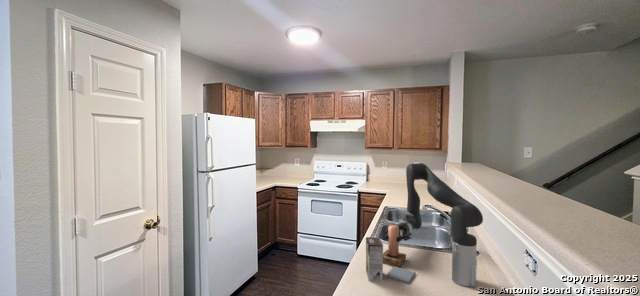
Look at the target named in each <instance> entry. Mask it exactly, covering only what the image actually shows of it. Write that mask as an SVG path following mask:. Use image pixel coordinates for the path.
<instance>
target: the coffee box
mask: <svg viewBox="0 0 640 296" xmlns="http://www.w3.org/2000/svg"><path fill="white" fill-rule="evenodd" d="M383 253H384V245H383V243H382V240H381V238H380V237H370V236H367V237H365V272H366V276H367V279H368V282H369V281H371V282H373V281H374V282H375V281H377V282H382V281H383V278H384V277H383V266H384V265H383V264H384V263H383Z"/></svg>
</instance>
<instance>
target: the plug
mask: <svg viewBox="0 0 640 296" xmlns="http://www.w3.org/2000/svg"><path fill="white" fill-rule="evenodd" d="M396 225H397V224H396ZM396 225H395V224H389V225H388V243H387V244H388V245H387V246H388V249H387V250H388V254H389V255H391V256H398V255H399V253H400V251H399V250H400V249H399V248H400V247H399V246H400V245H399V244H400V243H399V242H400V241H399V242H397V237H398V236H399V227H398V226H396Z"/></svg>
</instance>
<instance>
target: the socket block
mask: <svg viewBox="0 0 640 296" xmlns="http://www.w3.org/2000/svg"><path fill="white" fill-rule="evenodd" d="M406 261H407V254H406V253H402V252H399V255H398V256H391V255H389V254H388V249H386V250H385V251H383V264H384V265H388V266H391V267H394V266H395V267H398V268H401V267H402V265H404V263H405V262H406Z"/></svg>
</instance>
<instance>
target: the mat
mask: <svg viewBox="0 0 640 296" xmlns="http://www.w3.org/2000/svg"><path fill="white" fill-rule="evenodd" d="M415 276H416V272H415V271H412V270H408V269H406V268H403V267H402V268H401V267H400V268H398V267H395V266H392V268H391V269H390V270H389V271H388V272H387V273H386V274H385V277H386V278H387V279H391V280H393V281H397V282H401V283H404V284H407V285H409V284H410V282H411V281H412V280H413V278H414V277H415Z"/></svg>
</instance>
